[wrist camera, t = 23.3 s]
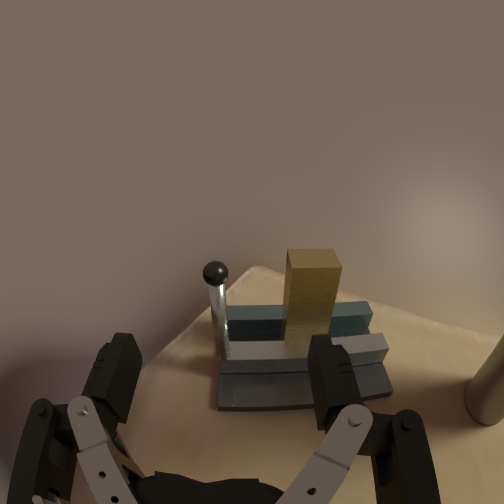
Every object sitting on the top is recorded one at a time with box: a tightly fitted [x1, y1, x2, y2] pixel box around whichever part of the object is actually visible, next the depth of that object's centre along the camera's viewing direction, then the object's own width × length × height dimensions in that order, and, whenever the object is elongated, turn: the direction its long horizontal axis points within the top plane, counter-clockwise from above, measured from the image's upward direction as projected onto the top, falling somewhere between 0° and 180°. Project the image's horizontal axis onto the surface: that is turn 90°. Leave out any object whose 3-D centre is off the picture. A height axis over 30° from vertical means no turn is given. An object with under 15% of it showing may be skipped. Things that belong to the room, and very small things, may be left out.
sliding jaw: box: [203, 261, 389, 373], centre depth 31 cm, size 4×22×16 cm, turn 91°
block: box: [280, 249, 342, 341], centre depth 34 cm, size 4×6×14 cm
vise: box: [217, 301, 393, 411], centre depth 36 cm, size 16×22×4 cm
